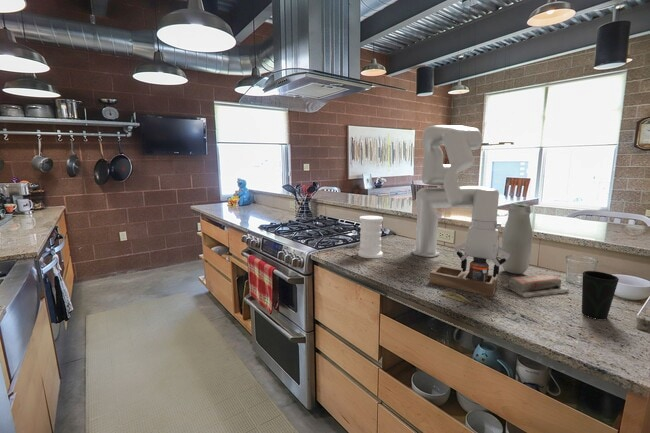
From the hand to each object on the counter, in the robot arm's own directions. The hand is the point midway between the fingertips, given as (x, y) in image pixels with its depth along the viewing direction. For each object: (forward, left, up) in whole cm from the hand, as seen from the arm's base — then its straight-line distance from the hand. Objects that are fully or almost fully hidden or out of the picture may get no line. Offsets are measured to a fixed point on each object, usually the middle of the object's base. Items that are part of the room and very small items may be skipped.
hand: (479, 273), depth 109 cm
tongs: (+13, -2, -6) cm, 15 cm away
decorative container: (-15, -49, -5) cm, 52 cm away
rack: (0, -5, -5) cm, 7 cm away
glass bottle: (-25, +9, -5) cm, 27 cm away
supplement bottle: (0, 0, -5) cm, 5 cm away
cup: (+3, +31, -5) cm, 32 cm away
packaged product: (-10, +16, -6) cm, 20 cm away
